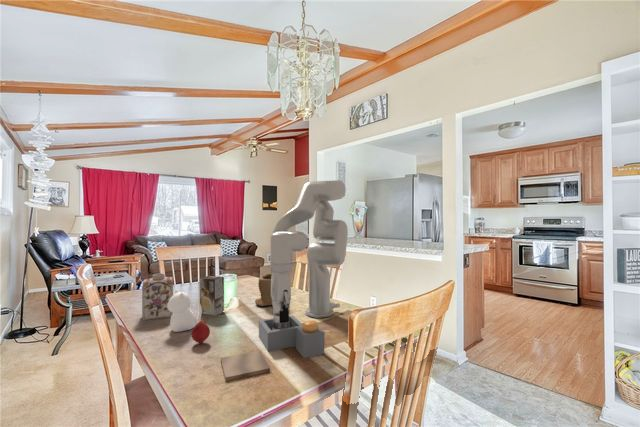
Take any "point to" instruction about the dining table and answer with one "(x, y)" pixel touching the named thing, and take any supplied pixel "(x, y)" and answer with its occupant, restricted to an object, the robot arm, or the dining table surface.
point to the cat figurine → (182, 312)
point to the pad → (244, 365)
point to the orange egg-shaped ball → (310, 326)
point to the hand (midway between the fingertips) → (281, 318)
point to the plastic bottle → (276, 316)
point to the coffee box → (212, 295)
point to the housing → (291, 337)
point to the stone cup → (265, 290)
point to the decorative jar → (156, 297)
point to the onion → (200, 332)
